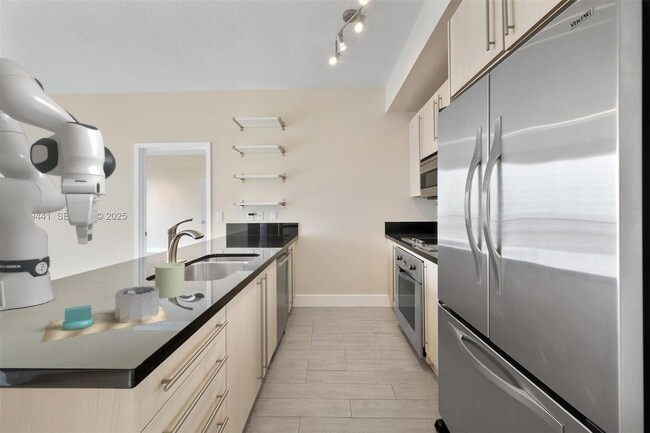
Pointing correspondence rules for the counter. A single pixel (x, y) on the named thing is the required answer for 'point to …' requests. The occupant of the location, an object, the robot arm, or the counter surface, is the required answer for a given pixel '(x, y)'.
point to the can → (170, 279)
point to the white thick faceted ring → (137, 304)
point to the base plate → (95, 326)
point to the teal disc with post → (78, 318)
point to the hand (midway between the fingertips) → (85, 242)
